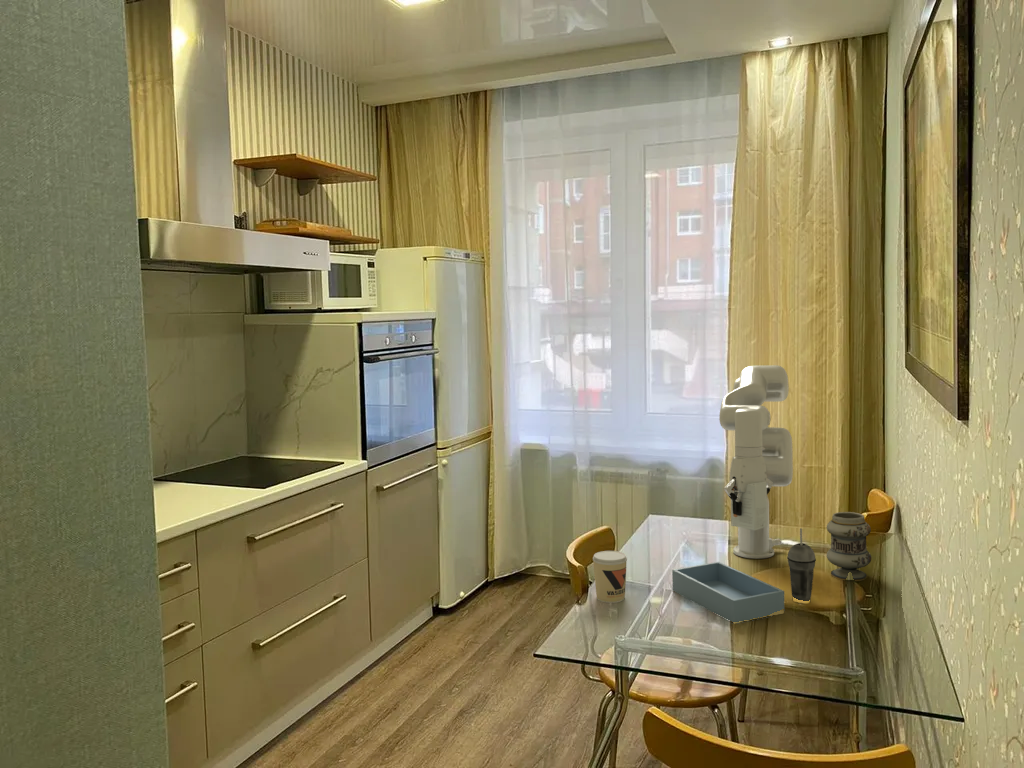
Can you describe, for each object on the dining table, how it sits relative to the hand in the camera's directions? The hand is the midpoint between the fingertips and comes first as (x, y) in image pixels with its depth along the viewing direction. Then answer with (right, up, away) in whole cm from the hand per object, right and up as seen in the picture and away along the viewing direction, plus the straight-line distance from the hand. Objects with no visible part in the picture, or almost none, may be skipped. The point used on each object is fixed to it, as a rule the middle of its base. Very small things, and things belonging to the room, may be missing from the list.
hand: (748, 512), depth 232 cm
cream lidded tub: (-41, -22, -9) cm, 47 cm away
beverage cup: (+9, -21, -16) cm, 28 cm away
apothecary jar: (+30, -19, +3) cm, 36 cm away
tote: (-10, -22, -14) cm, 28 cm away
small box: (0, -4, 0) cm, 4 cm away
